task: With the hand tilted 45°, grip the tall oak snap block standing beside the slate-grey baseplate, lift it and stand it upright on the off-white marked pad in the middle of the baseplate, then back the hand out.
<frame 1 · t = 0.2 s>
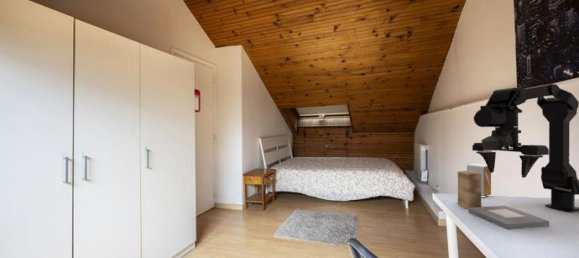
hand: (506, 174, 80), 14 cm above the table, tool pointing down, fingers open, 9 cm apart
oak block: (469, 206, 93), on the table
small box: (479, 195, 107), on the table
baseplate: (505, 218, 81), on the table
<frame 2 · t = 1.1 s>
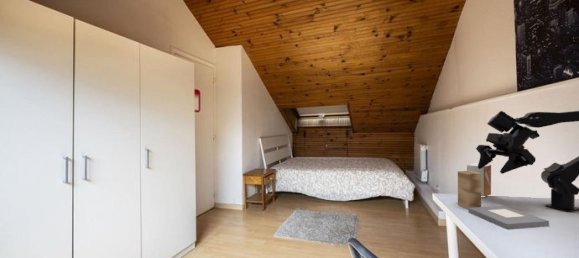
hand: (489, 170, 93), 13 cm above the table, tool tilted 45°, fingers open, 9 cm apart
nothing on the table moved.
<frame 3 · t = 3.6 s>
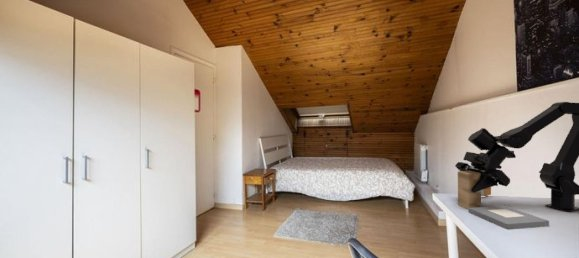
hand: (465, 189, 92), 7 cm above the table, tool tilted 45°, fingers open, 6 cm apart
oak block: (469, 206, 93), on the table, touching gripper
everything else where it was.
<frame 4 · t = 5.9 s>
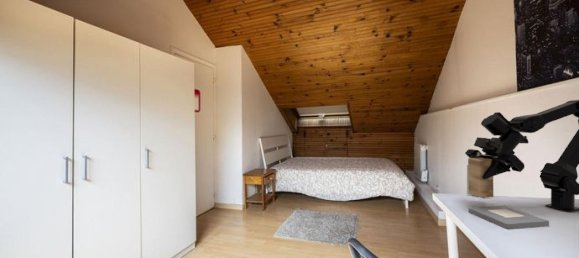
hand: (476, 176, 88), 12 cm above the table, tool tilted 45°, fingers closed on oak block, 5 cm apart
oak block: (480, 194, 89), point 6 cm above the table, touching gripper
everything else where it was.
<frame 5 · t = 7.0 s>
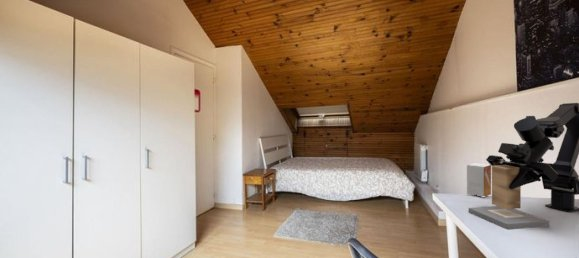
hand: (502, 186, 81), 11 cm above the table, tool tilted 45°, fingers closed on oak block, 5 cm apart
oak block: (505, 206, 81), point 4 cm above the table, touching gripper
everything else where it was.
when the fingers open (9 cm above the table, at t = 8.0 s): oak block stays where it is, resting on baseplate.
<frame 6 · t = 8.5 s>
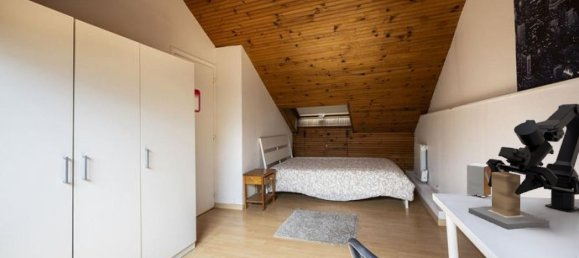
hand: (501, 189, 81), 10 cm above the table, tool tilted 45°, fingers open, 9 cm apart
oak block: (505, 212, 81), point 2 cm above the table, touching baseplate
everything else where it was.
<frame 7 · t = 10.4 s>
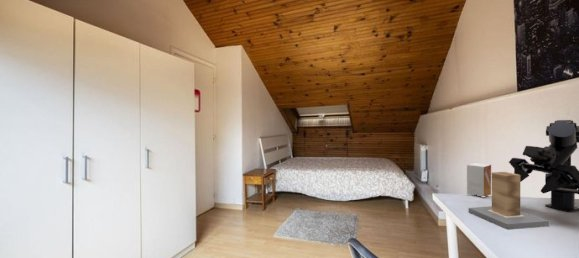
hand: (526, 188, 82), 10 cm above the table, tool tilted 45°, fingers open, 9 cm apart
nothing on the table moved.
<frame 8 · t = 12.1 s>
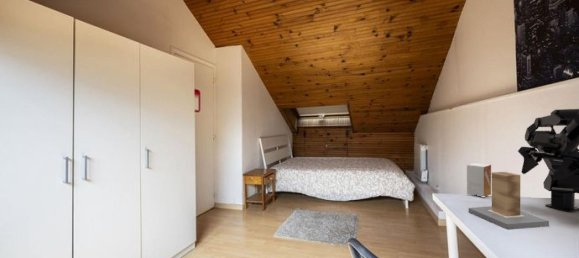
hand: (537, 176, 81), 14 cm above the table, tool tilted 45°, fingers open, 9 cm apart
nothing on the table moved.
at the end: oak block 0.1 cm off-centre on the baseplate, point 1.8 cm above the baseplate's base; oak block tilted 0°; the gripper is holding nothing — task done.
